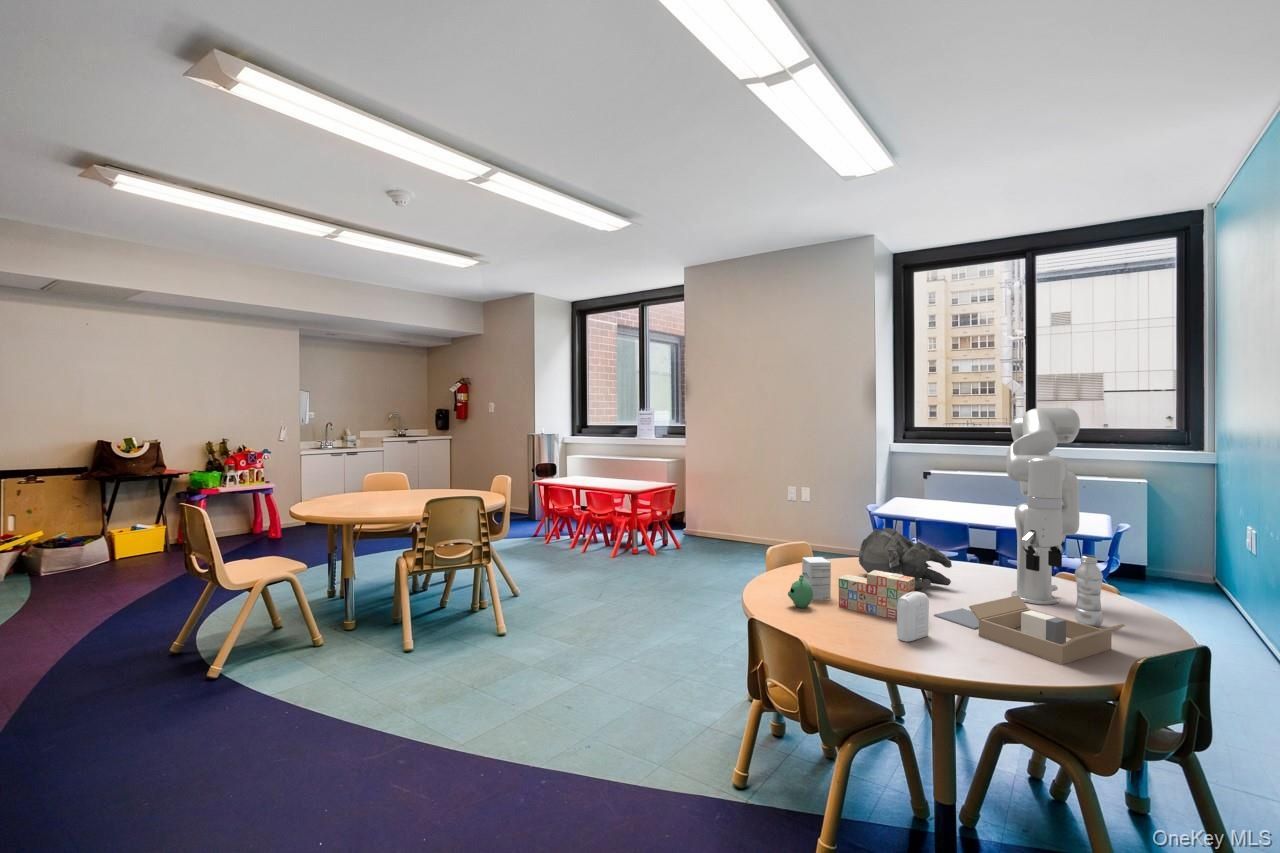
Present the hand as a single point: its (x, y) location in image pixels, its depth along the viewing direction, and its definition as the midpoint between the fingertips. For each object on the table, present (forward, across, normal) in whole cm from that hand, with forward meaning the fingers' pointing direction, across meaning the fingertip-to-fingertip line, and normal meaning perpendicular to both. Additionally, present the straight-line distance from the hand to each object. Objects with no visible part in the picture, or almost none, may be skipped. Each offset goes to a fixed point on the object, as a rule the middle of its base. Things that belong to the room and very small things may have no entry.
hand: (1043, 568), depth 162 cm
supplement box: (+20, +25, -58) cm, 67 cm away
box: (+20, -1, 0) cm, 20 cm away
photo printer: (+20, +27, -18) cm, 39 cm away
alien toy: (+20, +37, -52) cm, 67 cm away
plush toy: (+19, -15, -57) cm, 62 cm away
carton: (+20, -1, 0) cm, 20 cm away
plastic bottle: (+20, -26, -2) cm, 33 cm away
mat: (+20, 0, -21) cm, 29 cm away
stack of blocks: (+20, +20, -39) cm, 48 cm away
